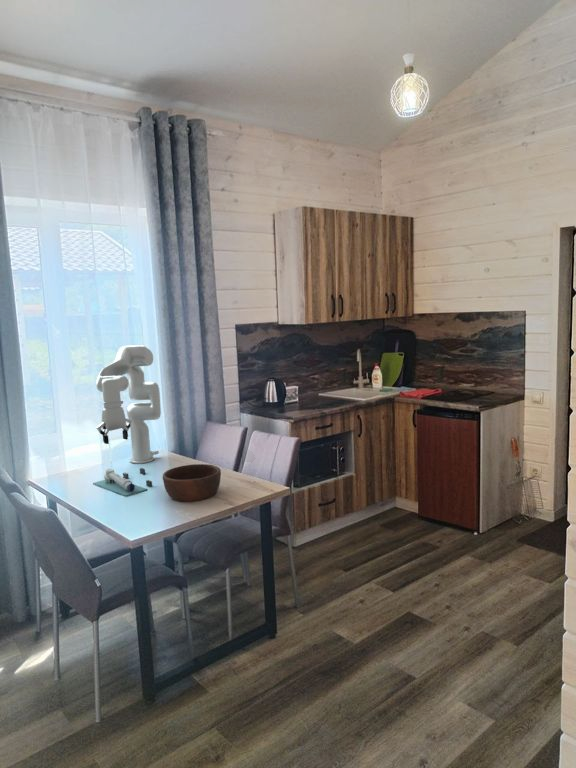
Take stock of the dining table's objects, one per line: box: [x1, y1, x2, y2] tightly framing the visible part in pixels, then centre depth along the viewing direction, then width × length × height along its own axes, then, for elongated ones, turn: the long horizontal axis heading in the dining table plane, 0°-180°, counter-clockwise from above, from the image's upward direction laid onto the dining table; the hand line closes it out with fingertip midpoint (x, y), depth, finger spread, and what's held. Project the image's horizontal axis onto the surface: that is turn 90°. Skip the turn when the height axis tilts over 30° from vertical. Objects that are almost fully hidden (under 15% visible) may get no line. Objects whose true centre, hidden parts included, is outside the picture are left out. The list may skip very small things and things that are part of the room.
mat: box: [92, 479, 148, 498], centre depth 271 cm, size 11×30×1 cm, turn 45°
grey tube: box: [103, 468, 136, 492], centre depth 270 cm, size 5×7×25 cm
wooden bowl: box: [162, 463, 222, 503], centre depth 255 cm, size 25×25×10 cm
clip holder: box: [122, 467, 153, 488], centre depth 280 cm, size 10×24×2 cm, turn 45°
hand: (116, 441), depth 271 cm, fingers open, 9 cm apart
